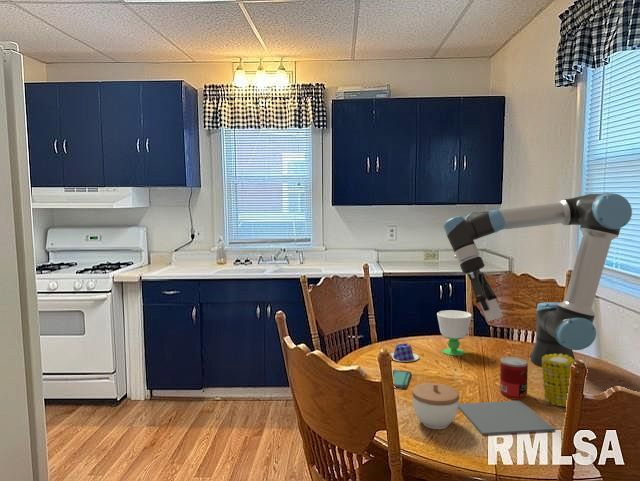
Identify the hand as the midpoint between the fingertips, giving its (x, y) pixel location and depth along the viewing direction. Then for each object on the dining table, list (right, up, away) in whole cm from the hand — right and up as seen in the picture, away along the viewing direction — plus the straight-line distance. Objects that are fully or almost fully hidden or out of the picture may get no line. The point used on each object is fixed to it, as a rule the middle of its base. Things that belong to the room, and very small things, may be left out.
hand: (495, 319), depth 154 cm
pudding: (-25, -21, +31) cm, 45 cm away
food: (+15, -24, -12) cm, 30 cm away
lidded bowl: (-26, -25, -24) cm, 44 cm away
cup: (-3, -20, +37) cm, 42 cm away
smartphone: (-31, -23, +7) cm, 39 cm away
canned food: (+3, -23, -6) cm, 24 cm away
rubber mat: (-6, -24, -22) cm, 33 cm away
